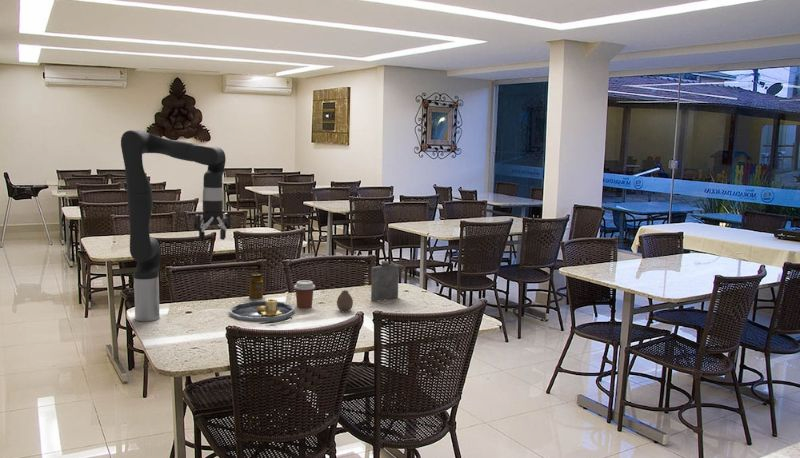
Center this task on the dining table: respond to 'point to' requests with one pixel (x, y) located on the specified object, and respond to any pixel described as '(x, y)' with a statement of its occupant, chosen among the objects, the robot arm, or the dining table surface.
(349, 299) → the brown rounded lump
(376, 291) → the flask
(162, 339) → the dining table surface
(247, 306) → the tray
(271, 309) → the planet gear
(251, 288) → the condiment
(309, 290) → the coffee cup
